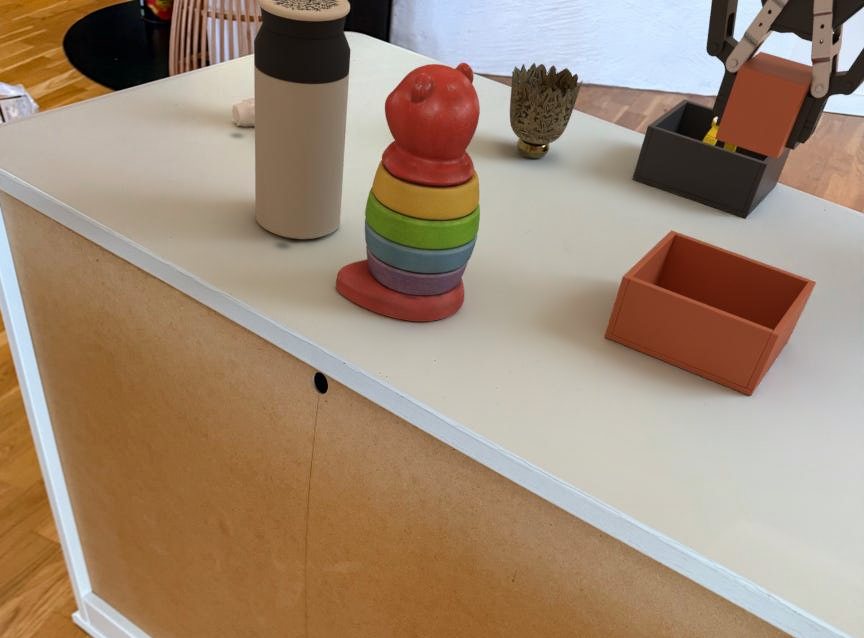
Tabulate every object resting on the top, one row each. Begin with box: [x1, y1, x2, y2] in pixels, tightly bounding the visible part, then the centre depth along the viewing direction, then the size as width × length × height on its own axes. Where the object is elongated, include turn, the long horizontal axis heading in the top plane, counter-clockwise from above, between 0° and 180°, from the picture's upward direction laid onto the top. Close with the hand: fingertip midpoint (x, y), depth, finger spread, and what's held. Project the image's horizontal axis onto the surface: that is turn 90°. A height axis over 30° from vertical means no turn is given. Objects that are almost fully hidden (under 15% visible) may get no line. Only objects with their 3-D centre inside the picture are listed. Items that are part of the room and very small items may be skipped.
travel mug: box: [253, 0, 351, 240], centre depth 80 cm, size 8×8×18 cm
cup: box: [509, 62, 584, 159], centre depth 100 cm, size 8×7×8 cm
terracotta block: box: [715, 51, 812, 159], centre depth 70 cm, size 5×5×5 cm
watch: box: [702, 117, 737, 152], centre depth 100 cm, size 6×3×6 cm, turn 133°
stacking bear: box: [335, 62, 481, 322], centre depth 74 cm, size 11×10×18 cm
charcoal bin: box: [632, 99, 792, 219], centre depth 101 cm, size 13×11×6 cm
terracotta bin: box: [604, 229, 817, 397], centre depth 78 cm, size 13×11×6 cm
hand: (757, 134), depth 71 cm, fingers closed on terracotta block, 5 cm apart
